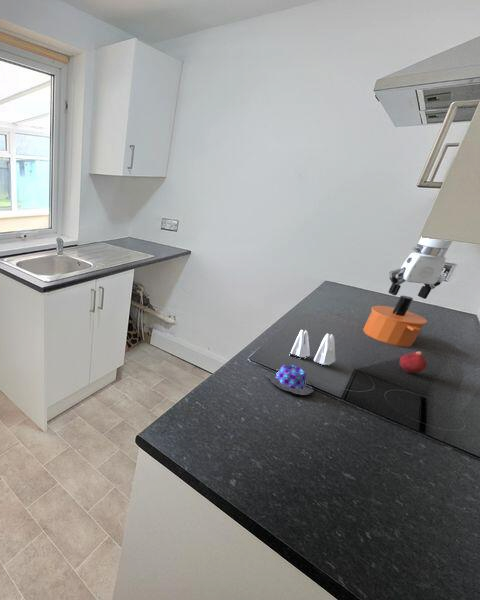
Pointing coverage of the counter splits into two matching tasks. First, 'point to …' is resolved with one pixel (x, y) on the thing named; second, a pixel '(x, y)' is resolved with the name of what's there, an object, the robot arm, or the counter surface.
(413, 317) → the pot lid
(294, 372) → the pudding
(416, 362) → the onion
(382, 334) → the pot
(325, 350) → the shaker set
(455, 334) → the counter surface
